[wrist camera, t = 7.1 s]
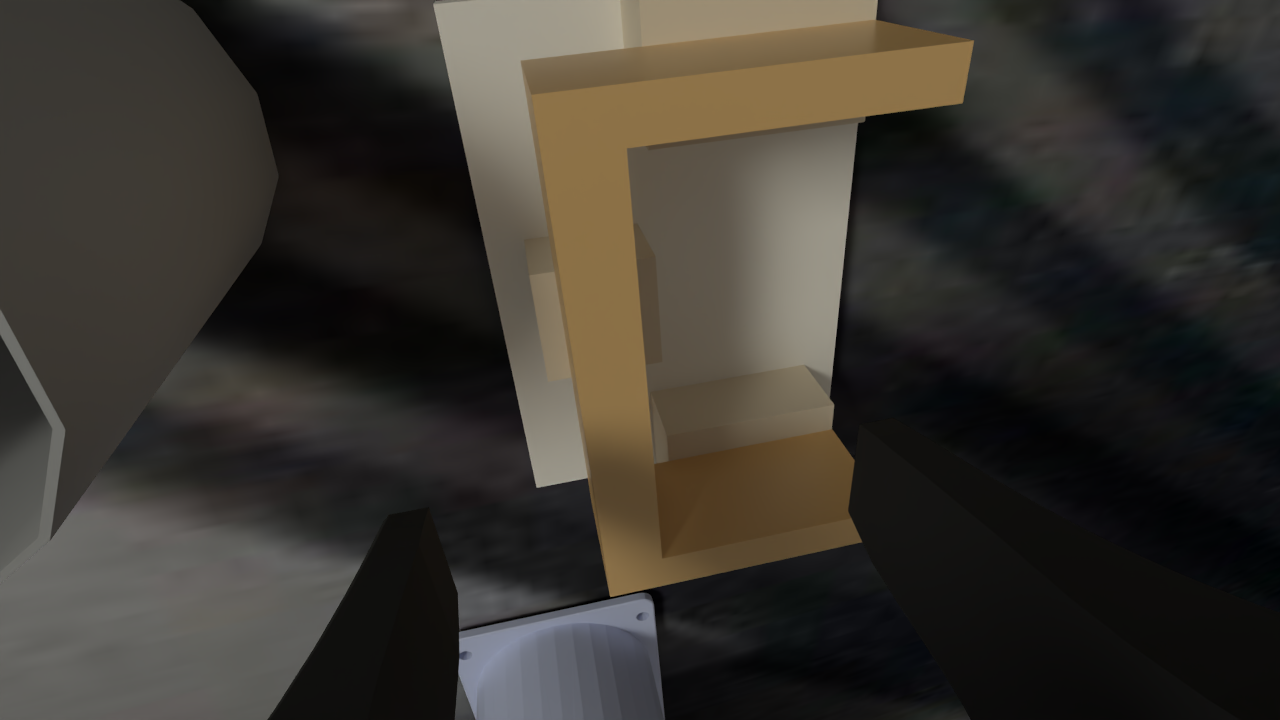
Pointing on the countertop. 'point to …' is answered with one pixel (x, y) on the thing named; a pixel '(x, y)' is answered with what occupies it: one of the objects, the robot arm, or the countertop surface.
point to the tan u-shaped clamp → (609, 292)
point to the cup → (109, 230)
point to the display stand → (665, 231)
